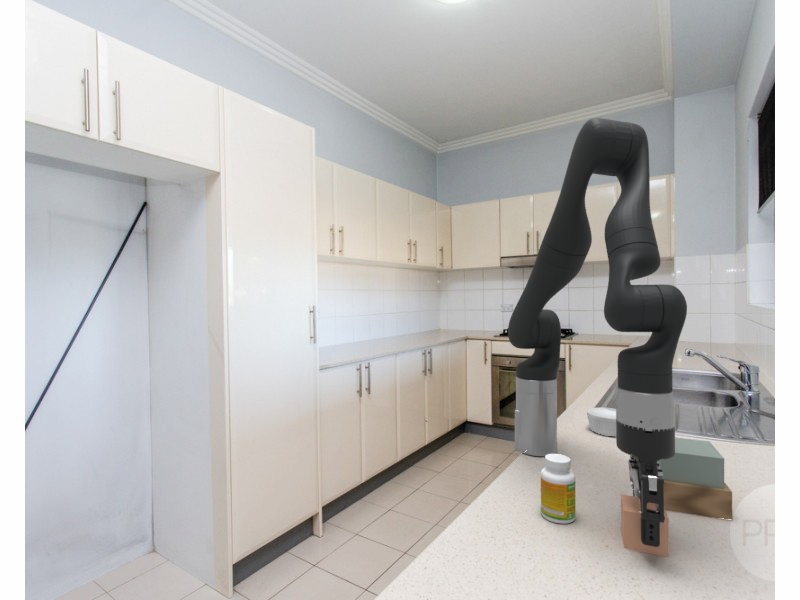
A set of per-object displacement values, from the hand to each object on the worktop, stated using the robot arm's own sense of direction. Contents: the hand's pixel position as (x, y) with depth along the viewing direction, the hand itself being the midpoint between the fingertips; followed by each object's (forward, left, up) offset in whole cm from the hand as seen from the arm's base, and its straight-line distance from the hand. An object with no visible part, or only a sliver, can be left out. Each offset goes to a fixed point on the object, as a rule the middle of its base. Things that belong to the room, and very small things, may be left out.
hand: (645, 529), depth 62 cm
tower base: (+9, +17, -2) cm, 19 cm away
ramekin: (-1, +54, -2) cm, 54 cm away
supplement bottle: (-12, +3, -2) cm, 13 cm away
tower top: (+8, +17, +3) cm, 20 cm away
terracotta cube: (0, 0, -2) cm, 2 cm away
